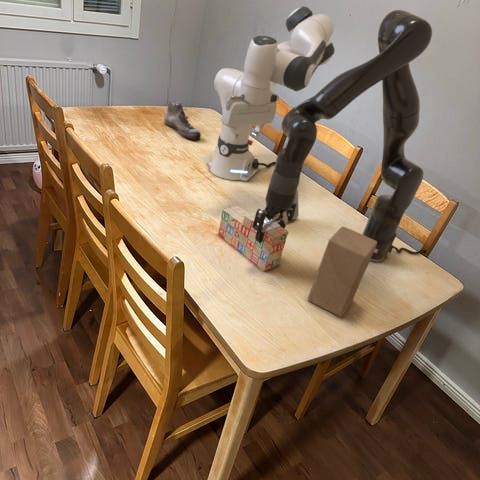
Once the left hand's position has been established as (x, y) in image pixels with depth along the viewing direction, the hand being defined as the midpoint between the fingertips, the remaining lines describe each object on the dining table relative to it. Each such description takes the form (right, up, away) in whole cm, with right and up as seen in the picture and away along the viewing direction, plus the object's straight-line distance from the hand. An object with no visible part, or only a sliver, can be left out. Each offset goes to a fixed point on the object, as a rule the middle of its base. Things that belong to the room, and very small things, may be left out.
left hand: (244, 137), depth 141 cm
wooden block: (+23, -50, -20) cm, 58 cm away
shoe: (-29, +18, +67) cm, 75 cm away
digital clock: (+12, -26, +12) cm, 31 cm away
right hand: (+7, -32, -15) cm, 36 cm away
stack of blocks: (+1, -36, -7) cm, 37 cm away
